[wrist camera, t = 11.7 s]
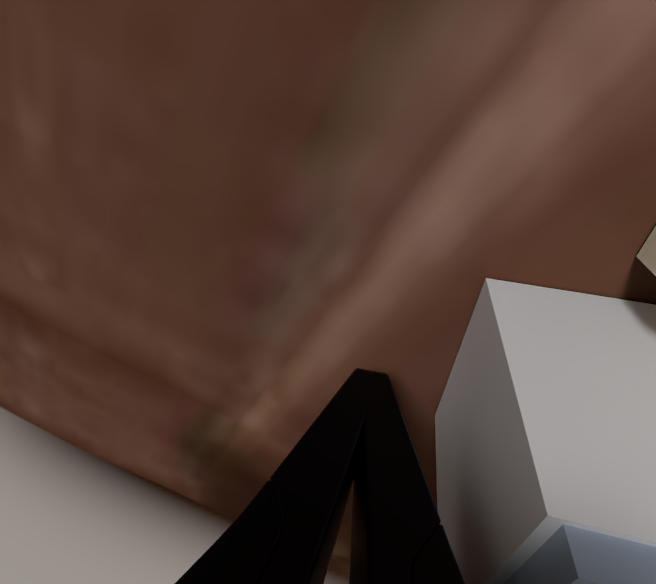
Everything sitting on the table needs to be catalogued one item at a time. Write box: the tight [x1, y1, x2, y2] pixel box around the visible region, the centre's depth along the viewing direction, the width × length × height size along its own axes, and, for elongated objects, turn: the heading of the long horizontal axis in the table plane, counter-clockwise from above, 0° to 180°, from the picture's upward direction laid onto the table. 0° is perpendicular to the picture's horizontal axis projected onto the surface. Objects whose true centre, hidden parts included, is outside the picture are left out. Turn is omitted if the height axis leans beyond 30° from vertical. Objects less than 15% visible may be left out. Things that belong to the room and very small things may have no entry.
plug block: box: [435, 278, 656, 584], centre depth 7 cm, size 6×5×6 cm
